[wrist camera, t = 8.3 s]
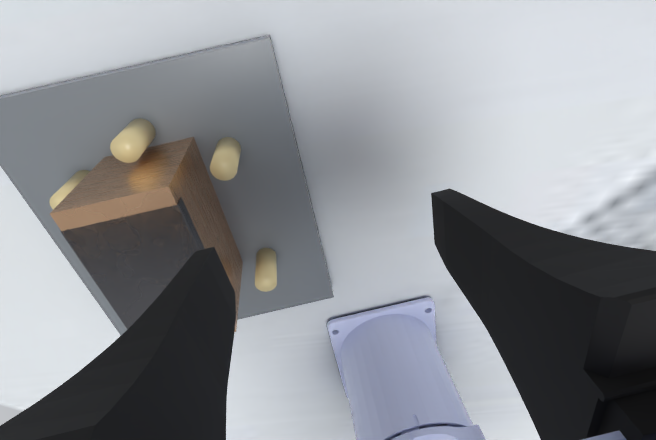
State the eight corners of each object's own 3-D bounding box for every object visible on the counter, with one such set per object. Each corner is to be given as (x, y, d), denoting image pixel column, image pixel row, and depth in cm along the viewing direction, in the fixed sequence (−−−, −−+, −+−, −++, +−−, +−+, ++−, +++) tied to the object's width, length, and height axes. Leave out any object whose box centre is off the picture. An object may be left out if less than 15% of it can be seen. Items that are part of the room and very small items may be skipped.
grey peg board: (331, 285, 27) (339, 325, 23) (133, 331, 26) (114, 377, 23) (269, 34, 18) (269, 45, 15) (-23, 100, 18) (-85, 125, 15)
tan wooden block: (243, 261, 23) (237, 331, 19) (169, 278, 23) (143, 353, 18) (194, 136, 19) (169, 185, 14) (102, 157, 19) (47, 213, 14)
